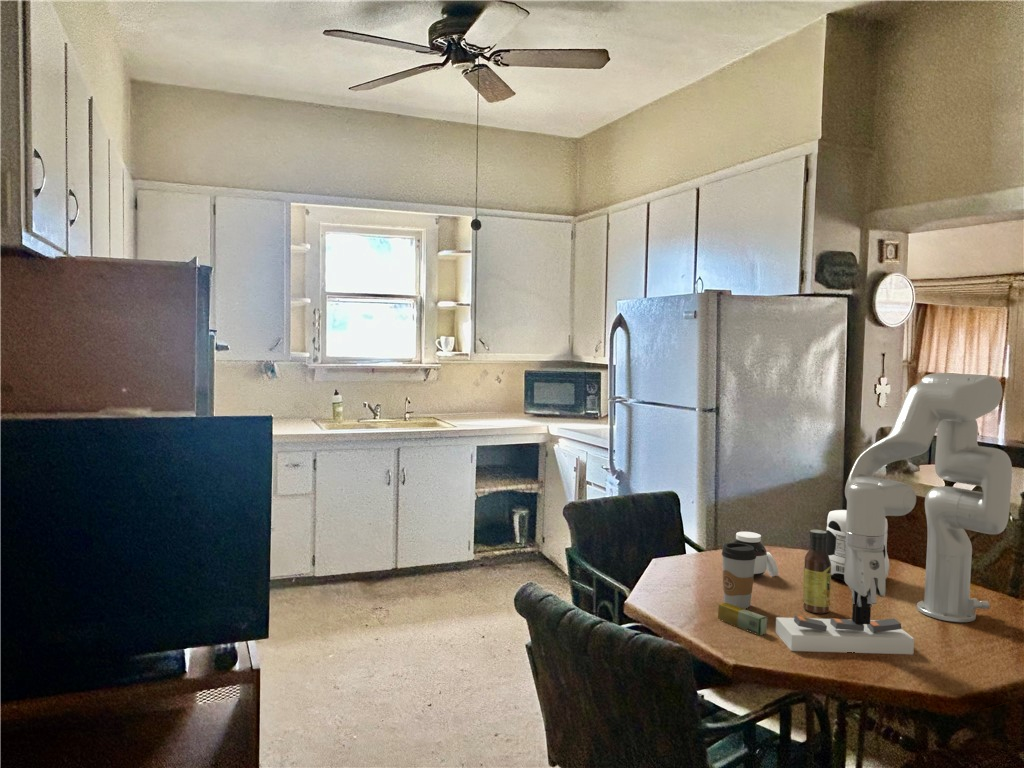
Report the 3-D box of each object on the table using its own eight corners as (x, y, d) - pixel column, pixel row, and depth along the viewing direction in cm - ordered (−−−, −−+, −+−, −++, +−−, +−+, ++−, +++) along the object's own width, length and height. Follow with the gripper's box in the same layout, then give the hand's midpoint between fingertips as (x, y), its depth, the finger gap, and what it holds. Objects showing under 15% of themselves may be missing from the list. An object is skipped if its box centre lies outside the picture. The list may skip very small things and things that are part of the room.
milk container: (875, 570, 213) (878, 510, 212) (898, 590, 196) (901, 525, 195) (814, 567, 216) (816, 507, 215) (831, 586, 199) (834, 521, 198)
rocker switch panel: (890, 635, 165) (890, 619, 165) (913, 654, 155) (914, 637, 155) (775, 632, 166) (776, 616, 166) (791, 650, 156) (791, 634, 156)
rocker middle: (857, 625, 160) (858, 619, 160) (863, 631, 157) (864, 624, 157) (830, 623, 160) (830, 617, 160) (835, 628, 157) (836, 622, 157)
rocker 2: (894, 623, 160) (893, 617, 160) (901, 628, 157) (900, 622, 157) (867, 627, 160) (866, 621, 160) (873, 632, 157) (873, 626, 157)
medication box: (767, 634, 166) (768, 616, 165) (760, 636, 164) (761, 619, 164) (723, 617, 175) (724, 601, 175) (716, 619, 174) (717, 603, 173)
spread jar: (724, 571, 210) (725, 531, 210) (752, 566, 216) (754, 527, 215) (756, 583, 200) (757, 542, 199) (784, 578, 205) (786, 537, 204)
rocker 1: (820, 626, 160) (821, 620, 160) (825, 631, 157) (827, 625, 157) (793, 620, 160) (794, 614, 160) (798, 626, 157) (799, 620, 157)
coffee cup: (712, 602, 185) (714, 544, 184) (737, 597, 189) (739, 540, 188) (736, 613, 178) (738, 553, 177) (761, 608, 181) (763, 549, 180)
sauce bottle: (832, 615, 177) (835, 535, 176) (805, 613, 178) (808, 534, 177) (826, 606, 183) (829, 529, 182) (800, 604, 185) (803, 527, 183)
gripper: (899, 550, 150) (895, 637, 151) (865, 531, 165) (862, 610, 166) (863, 550, 150) (859, 636, 151) (832, 530, 165) (829, 609, 166)
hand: (861, 622), depth 158 cm, fingers closed
